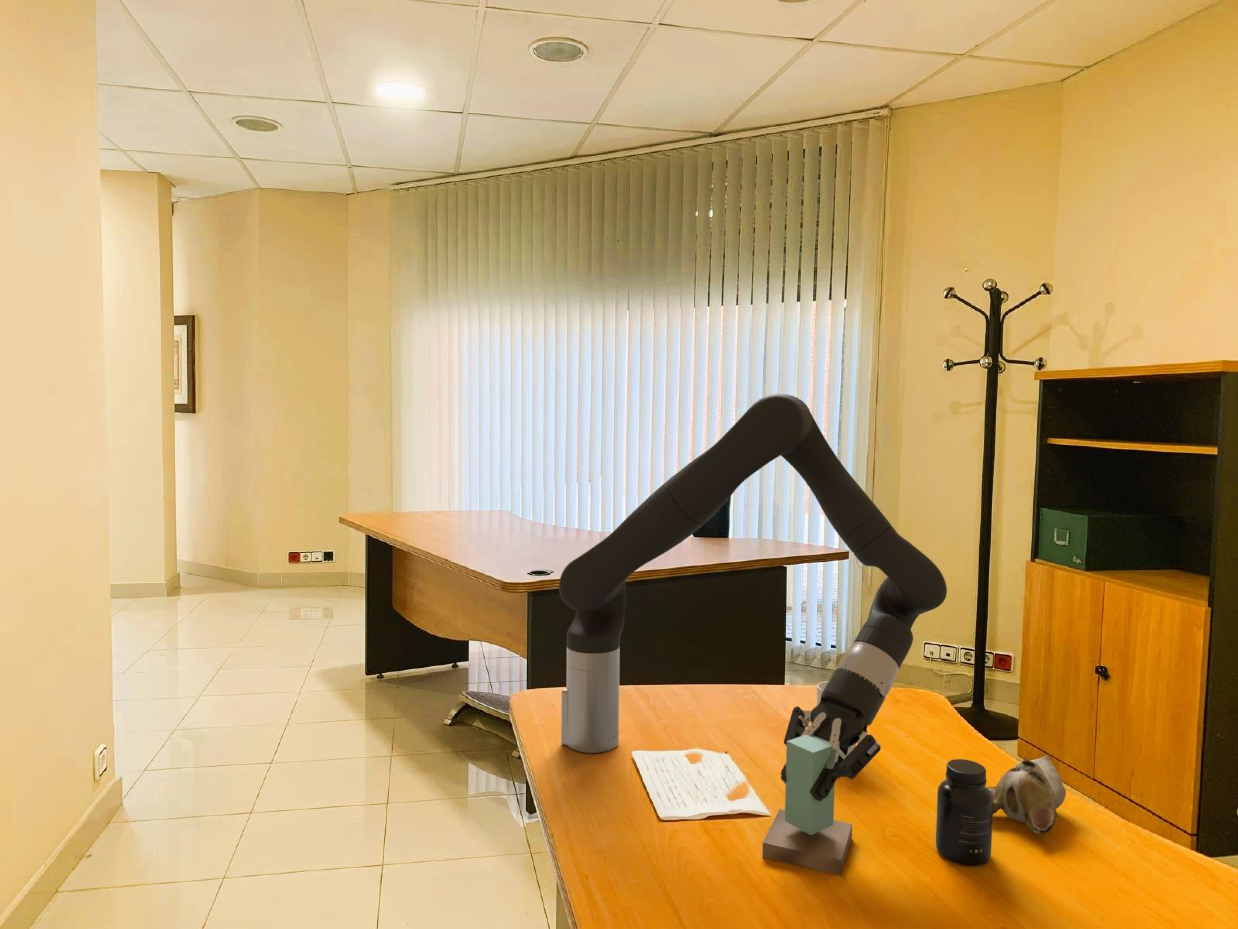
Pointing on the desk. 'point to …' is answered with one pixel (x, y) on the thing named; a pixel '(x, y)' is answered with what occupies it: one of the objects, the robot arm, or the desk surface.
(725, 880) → the desk surface
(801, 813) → the pillar
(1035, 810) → the ceramic sculpture
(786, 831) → the base
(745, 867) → the desk surface
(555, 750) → the desk surface
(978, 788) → the supplement bottle
